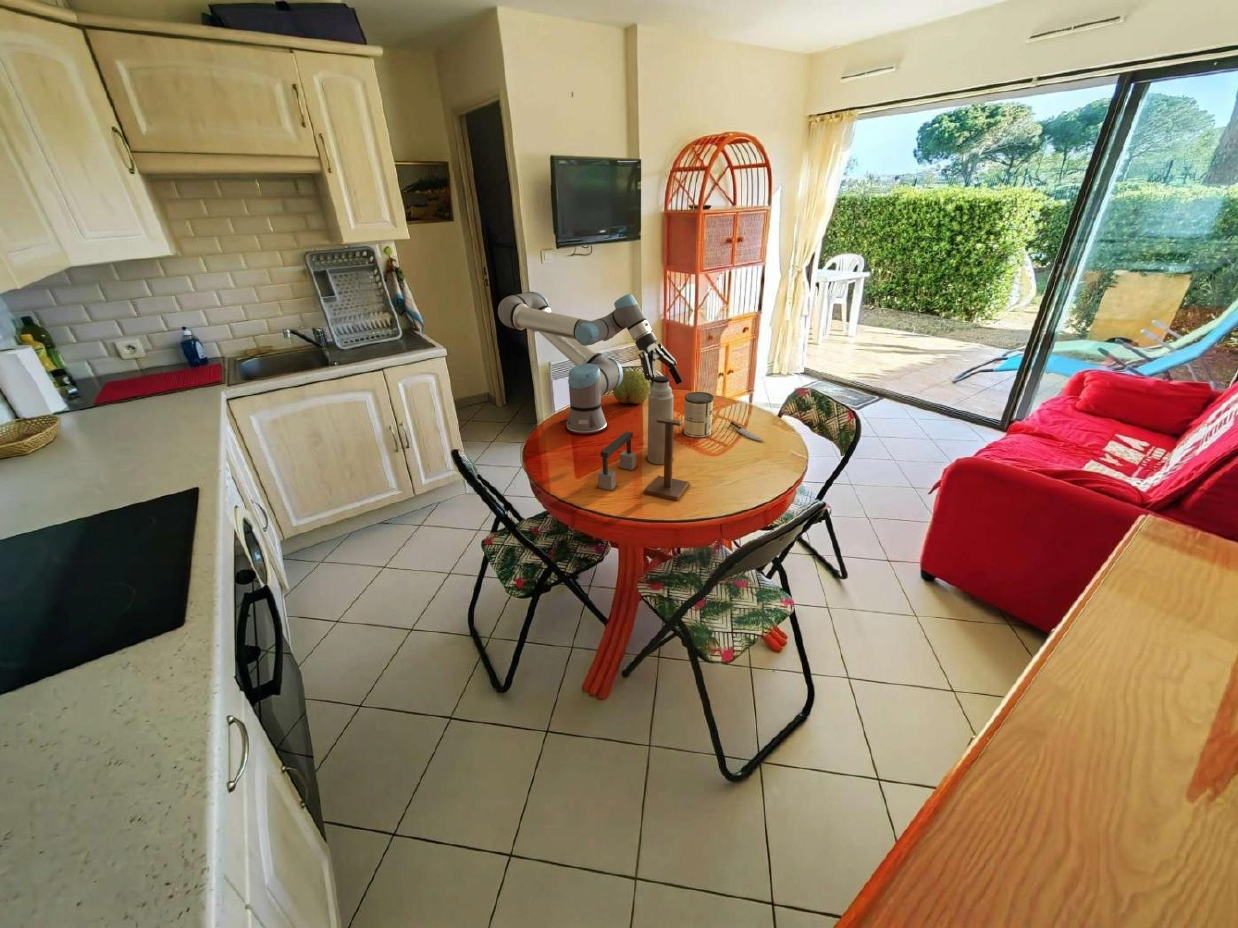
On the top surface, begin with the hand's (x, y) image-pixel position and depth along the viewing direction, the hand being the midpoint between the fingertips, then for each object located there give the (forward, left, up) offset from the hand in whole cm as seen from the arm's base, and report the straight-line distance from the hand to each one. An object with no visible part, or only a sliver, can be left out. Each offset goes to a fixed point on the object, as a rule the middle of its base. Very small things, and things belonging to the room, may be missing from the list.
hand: (671, 388), depth 185 cm
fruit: (-26, +21, -16) cm, 38 cm away
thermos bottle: (+6, -25, -16) cm, 31 cm away
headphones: (-1, -42, -16) cm, 45 cm away
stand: (+16, -43, -16) cm, 49 cm away
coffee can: (+10, +2, -16) cm, 19 cm away
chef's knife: (+26, +8, -16) cm, 32 cm away
